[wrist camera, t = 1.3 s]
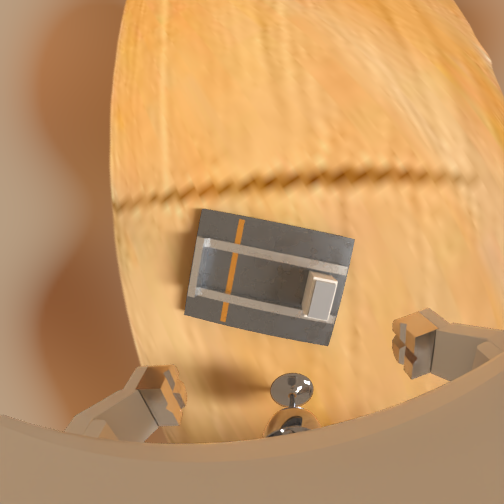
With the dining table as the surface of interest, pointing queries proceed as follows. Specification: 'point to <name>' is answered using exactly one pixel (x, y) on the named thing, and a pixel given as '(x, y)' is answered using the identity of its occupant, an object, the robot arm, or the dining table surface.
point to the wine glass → (291, 406)
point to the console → (263, 275)
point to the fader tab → (318, 295)
